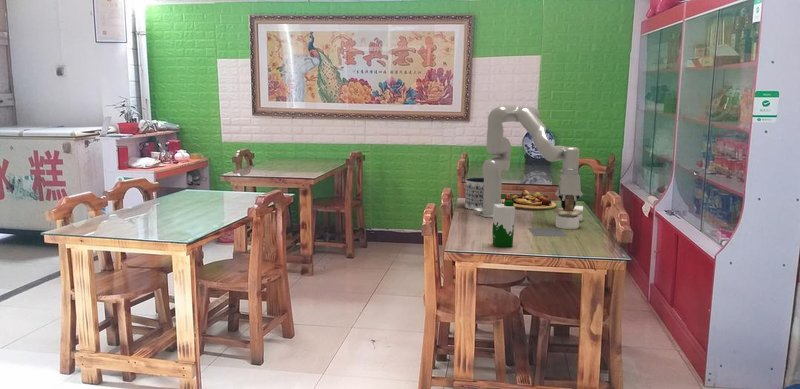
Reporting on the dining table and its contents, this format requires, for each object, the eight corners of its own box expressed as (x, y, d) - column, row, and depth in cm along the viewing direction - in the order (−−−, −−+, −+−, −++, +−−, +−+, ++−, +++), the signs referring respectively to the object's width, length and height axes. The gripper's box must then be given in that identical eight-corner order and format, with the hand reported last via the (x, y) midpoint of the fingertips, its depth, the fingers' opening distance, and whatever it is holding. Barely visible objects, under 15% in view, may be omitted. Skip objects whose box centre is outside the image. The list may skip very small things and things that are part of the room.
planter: (497, 211, 356) (499, 182, 353) (465, 210, 356) (466, 181, 354) (494, 205, 373) (495, 177, 371) (464, 204, 374) (464, 177, 372)
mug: (582, 222, 329) (582, 207, 327) (562, 221, 332) (563, 206, 330) (582, 218, 340) (583, 203, 339) (563, 216, 343) (564, 202, 342)
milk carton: (515, 247, 275) (517, 202, 272) (494, 247, 275) (496, 202, 271) (509, 242, 284) (511, 199, 281) (490, 242, 283) (491, 199, 280)
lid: (557, 215, 309) (558, 201, 308) (550, 209, 323) (551, 196, 321) (586, 215, 309) (586, 201, 308) (577, 209, 323) (578, 196, 322)
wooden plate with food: (504, 210, 360) (505, 196, 358) (499, 200, 391) (499, 186, 390) (561, 213, 358) (562, 198, 357) (551, 202, 389) (552, 189, 388)
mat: (534, 236, 296) (534, 235, 296) (527, 229, 312) (527, 228, 312) (568, 236, 296) (568, 236, 296) (559, 229, 312) (559, 228, 312)
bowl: (558, 229, 312) (559, 217, 311) (553, 224, 322) (554, 213, 321) (581, 229, 312) (581, 217, 311) (574, 224, 323) (575, 213, 322)
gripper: (555, 172, 309) (553, 209, 312) (589, 173, 309) (587, 210, 312) (551, 170, 316) (549, 206, 319) (584, 171, 316) (582, 207, 319)
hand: (568, 207), depth 315 cm, fingers closed on lid, 4 cm apart
